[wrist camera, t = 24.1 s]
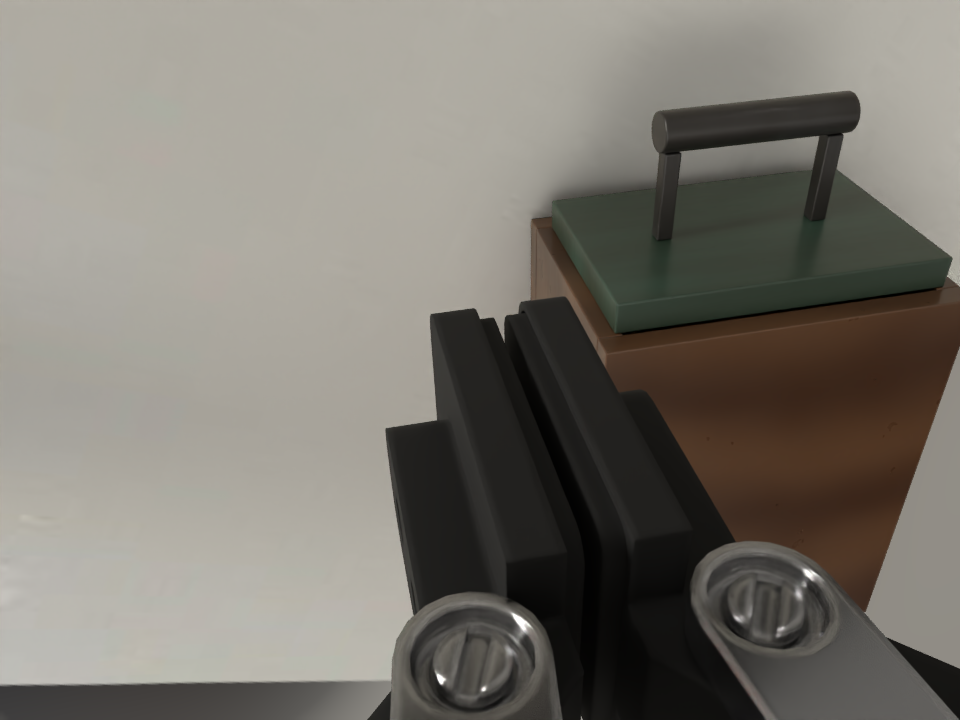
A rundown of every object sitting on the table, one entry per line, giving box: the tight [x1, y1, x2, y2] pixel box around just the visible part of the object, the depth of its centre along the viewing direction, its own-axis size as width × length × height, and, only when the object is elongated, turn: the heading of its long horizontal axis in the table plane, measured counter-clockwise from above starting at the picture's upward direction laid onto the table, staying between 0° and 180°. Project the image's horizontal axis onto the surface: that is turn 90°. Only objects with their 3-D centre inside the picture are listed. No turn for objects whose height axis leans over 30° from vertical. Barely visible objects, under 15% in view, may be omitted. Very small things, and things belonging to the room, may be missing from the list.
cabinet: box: [531, 217, 960, 612], centre depth 38 cm, size 17×13×10 cm
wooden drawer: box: [552, 91, 952, 335], centre depth 36 cm, size 20×12×8 cm, turn 2°
